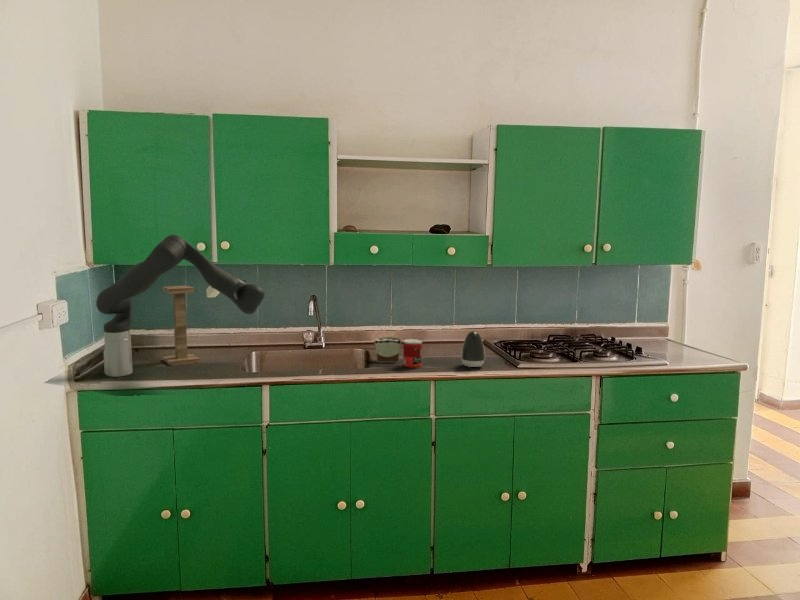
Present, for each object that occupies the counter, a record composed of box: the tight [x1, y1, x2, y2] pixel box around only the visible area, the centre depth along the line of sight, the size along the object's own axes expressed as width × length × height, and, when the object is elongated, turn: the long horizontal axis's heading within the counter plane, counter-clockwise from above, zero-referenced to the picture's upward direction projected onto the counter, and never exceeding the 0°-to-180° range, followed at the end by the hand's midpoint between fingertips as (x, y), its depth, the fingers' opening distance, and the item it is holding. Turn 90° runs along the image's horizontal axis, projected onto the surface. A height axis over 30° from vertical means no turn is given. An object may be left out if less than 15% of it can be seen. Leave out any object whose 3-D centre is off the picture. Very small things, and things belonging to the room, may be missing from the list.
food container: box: [373, 336, 403, 363], centre depth 250 cm, size 12×6×10 cm, turn 92°
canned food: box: [402, 338, 423, 369], centre depth 240 cm, size 8×8×11 cm
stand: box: [162, 285, 201, 367], centre depth 244 cm, size 12×12×32 cm
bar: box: [206, 285, 221, 298], centre depth 232 cm, size 21×4×4 cm, turn 35°
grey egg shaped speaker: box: [460, 330, 486, 368], centre depth 240 cm, size 10×10×15 cm
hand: (221, 278), depth 228 cm, fingers closed on bar, 3 cm apart
